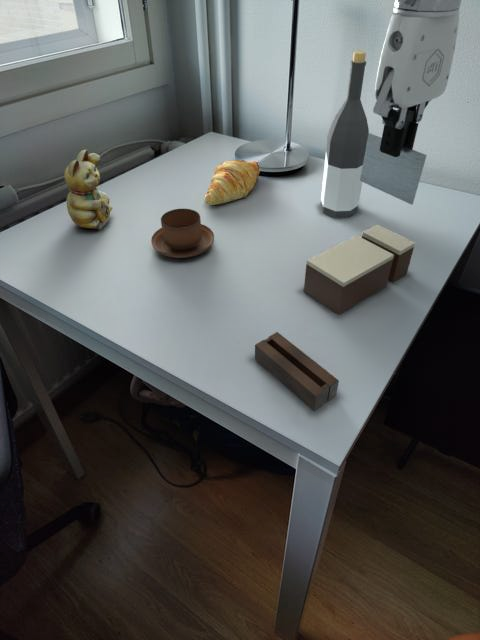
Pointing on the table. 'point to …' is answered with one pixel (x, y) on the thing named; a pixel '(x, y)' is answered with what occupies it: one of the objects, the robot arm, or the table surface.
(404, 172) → the metal dough scraper
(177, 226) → the cup and saucer
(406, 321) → the table surface
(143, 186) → the table surface
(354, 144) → the wine bottle
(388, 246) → the cake slice
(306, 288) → the cake
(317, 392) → the knife stand
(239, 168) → the croissant
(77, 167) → the decorative figurine
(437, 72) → the robot arm
